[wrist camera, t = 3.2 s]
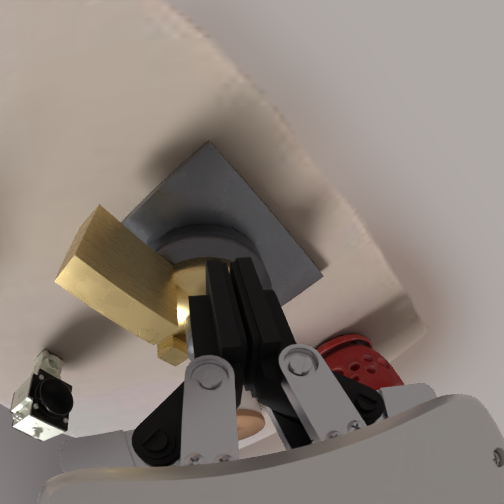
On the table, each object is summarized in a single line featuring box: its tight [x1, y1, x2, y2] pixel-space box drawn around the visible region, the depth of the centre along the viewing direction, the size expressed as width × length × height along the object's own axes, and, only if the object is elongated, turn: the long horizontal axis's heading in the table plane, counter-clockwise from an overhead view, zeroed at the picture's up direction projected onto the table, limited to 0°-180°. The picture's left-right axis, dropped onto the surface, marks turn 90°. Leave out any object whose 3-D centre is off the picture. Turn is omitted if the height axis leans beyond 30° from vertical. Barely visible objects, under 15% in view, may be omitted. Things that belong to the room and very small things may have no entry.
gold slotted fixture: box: [55, 204, 234, 366], centre depth 20 cm, size 17×10×6 cm, turn 37°
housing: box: [121, 141, 323, 306], centre depth 26 cm, size 18×18×4 cm
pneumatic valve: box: [10, 350, 73, 441], centre depth 25 cm, size 6×12×12 cm, turn 125°
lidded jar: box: [236, 385, 265, 440], centre depth 36 cm, size 11×11×9 cm
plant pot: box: [316, 334, 404, 390], centre depth 37 cm, size 13×13×12 cm
